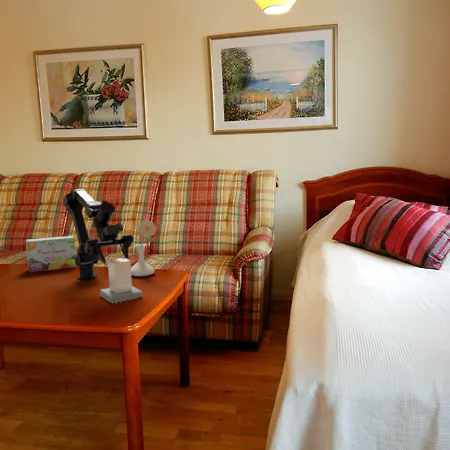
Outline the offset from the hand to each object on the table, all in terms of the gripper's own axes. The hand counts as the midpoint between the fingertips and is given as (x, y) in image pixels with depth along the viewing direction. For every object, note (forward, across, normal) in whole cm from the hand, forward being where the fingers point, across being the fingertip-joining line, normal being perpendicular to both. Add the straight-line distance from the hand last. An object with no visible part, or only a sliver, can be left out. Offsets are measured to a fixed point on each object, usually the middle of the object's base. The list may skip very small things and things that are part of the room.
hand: (116, 261), depth 170 cm
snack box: (-32, -7, +51) cm, 61 cm away
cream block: (+10, 0, +6) cm, 11 cm away
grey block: (+12, 0, +8) cm, 14 cm away
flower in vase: (-4, +22, +24) cm, 32 cm away
